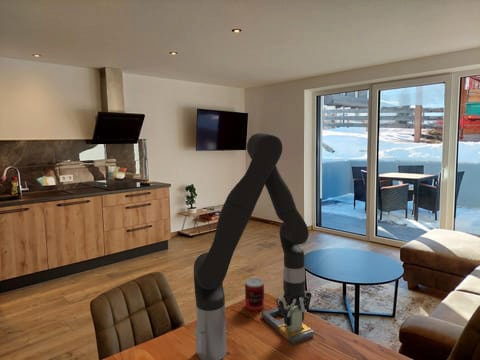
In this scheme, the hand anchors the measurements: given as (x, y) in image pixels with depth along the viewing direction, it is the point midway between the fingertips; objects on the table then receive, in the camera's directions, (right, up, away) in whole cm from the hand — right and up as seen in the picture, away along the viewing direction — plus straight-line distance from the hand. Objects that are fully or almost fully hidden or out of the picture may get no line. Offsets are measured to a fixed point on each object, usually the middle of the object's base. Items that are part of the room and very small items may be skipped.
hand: (294, 322), depth 121 cm
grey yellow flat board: (-2, -3, +5) cm, 6 cm away
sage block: (0, -4, 0) cm, 4 cm away
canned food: (-13, -2, +19) cm, 24 cm away
